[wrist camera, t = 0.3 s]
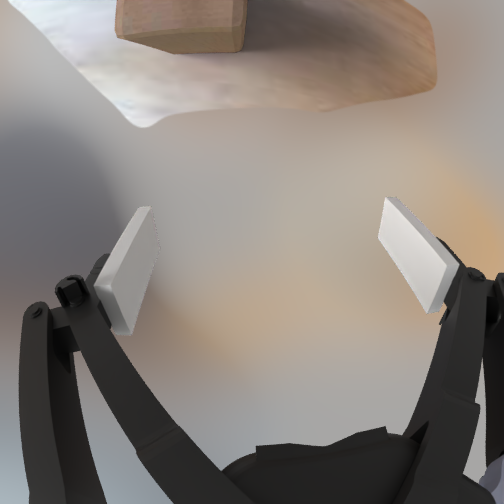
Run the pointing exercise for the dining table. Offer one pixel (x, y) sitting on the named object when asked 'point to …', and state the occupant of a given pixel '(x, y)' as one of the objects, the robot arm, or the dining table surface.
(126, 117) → the dining table surface
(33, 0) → the dining table surface
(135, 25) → the wooden block
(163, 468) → the robot arm
